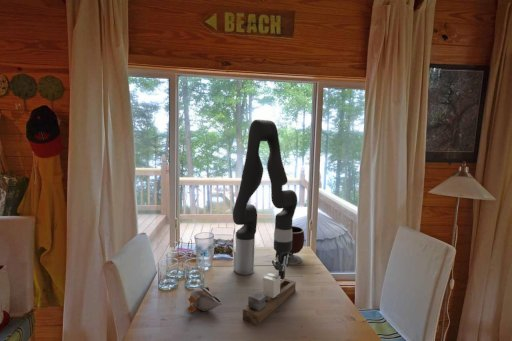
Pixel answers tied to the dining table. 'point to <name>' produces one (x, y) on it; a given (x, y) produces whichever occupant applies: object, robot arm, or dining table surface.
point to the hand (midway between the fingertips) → (281, 278)
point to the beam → (266, 302)
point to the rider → (271, 286)
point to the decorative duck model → (203, 300)
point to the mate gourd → (296, 244)
